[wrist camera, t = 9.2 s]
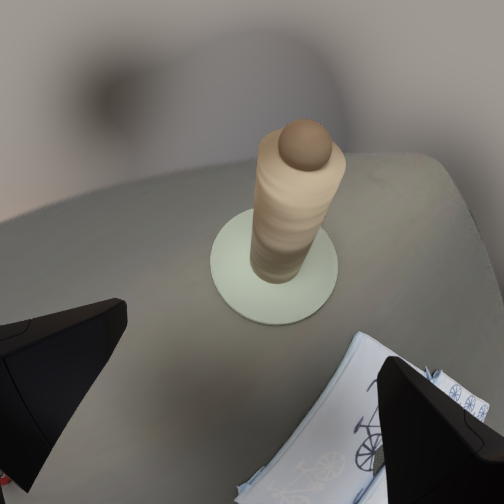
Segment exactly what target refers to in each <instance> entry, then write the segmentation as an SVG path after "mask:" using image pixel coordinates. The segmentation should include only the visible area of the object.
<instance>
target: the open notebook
mask: <svg viewBox="0 0 504 504" xmlns="http://www.w3.org/2000/svg"><path fill="white" fill-rule="evenodd" d="M388 356H398V357H400V356H399V355H397V354H396V353H394V352H393V351H391V350H390V349H388V348H387V347H385V346H383V345H382V344H381V343H379V342H378V341H377V340H375V339H373V338H372V337H370V336H369V335H367V334H364V333H362V332H360V331H358V332H357V333H356V334H355V336H354V337H353V340H352V342H351V344H350V346H349V348H348V350H347V352H346V354H345V356H344V358H343V360H342V361H341V363H340V365H339V367H338V369H337V370H336V372H335V374H334V375H333V377H332V379H331V380H330V382H329V383H328V385H327V386H326V388H325V389H324V391H323V392H322V394H321V395H320V397H319V398H318V400H317V401H316V403H315V404H314V406H313V407H312V408H311V410H310V411H309V412H308V414H307V415H306V416H305V418H304V419H303V420H302V422H301V423H300V424H299V426H298V427H297V428H296V430H295V431H294V432H293V434H292V435H291V436H290V438H289V439H288V440H287V441H286V443H285V444H284V445H283V446H282V448H281V449H280V450H279V451H278V453H277V454H276V455H275V456H274V457H273V459H272V460H271V461H270V462H269V463H268V465H267V466H266V467H265V466H263V467H262V468H261V469H260V470H259V471H257V472H256V474H255V475H254V476H253V477H252V478H251V479H250V480H249V481H248V482H247V483H244V484H242V485H241V486H237V488H238V490H239V491H238V496H237V497H235V499H234V501H235V502H237V503H238V504H388V497H387V482H386V470H385V465H384V466H383V467H382V468H380V469H379V471H378V473H377V474H376V475H375V476H373V471H372V469H373V461H374V456H375V454H376V452H377V450H378V449H379V448H380V447H382V446H383V443H382V436H381V428H380V422H379V412H378V393H377V375H378V372H379V371H380V369H381V367H382V365H383V363H384V361H385V359H386V358H387V357H388ZM400 358H401V359H403V358H402V357H400ZM403 360H404V361H405V362H406V363H408V364H409V365H410V366H411V367H413V368H414V369H415V370H417V371H418V372H419V373H420V374H422V375H423V376H424V377H425V378H427V379H428V380H429V381H430V382H432V383H433V384H434V385H436V386H437V387H438V388H439V389H441V390H442V391H443V392H444V393H446V394H447V395H448V396H449V397H451V398H452V399H453V400H454V401H456V402H457V403H458V404H459V405H461V406H462V407H463V408H464V409H466V410H467V411H468V412H470V413H471V414H472V415H473V416H475V417H476V418H477V419H479V420H480V421H481V422H483V421H484V419H485V416H486V414H487V412H488V409H489V403H487V402H485V401H484V400H482V399H480V398H478V397H476V396H475V395H473V394H472V393H470V392H469V391H467V390H466V389H465V388H463V387H462V386H461V385H459V384H458V383H457V382H455V381H454V380H453V379H452V378H450V377H449V376H447V375H446V374H445V373H443V371H442V370H440V371H436V372H435V373H434V375H433V377H432V376H430V372H429V371H428V369H427V367H426V366H425V368H426V371H425V372H424V371H422V370H420V369H419V368H417V367H416V366H414V365H413V364H411V363H409V362H408V361H406V360H405V359H403ZM262 469H263V470H262ZM261 470H262V471H261Z"/></svg>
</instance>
